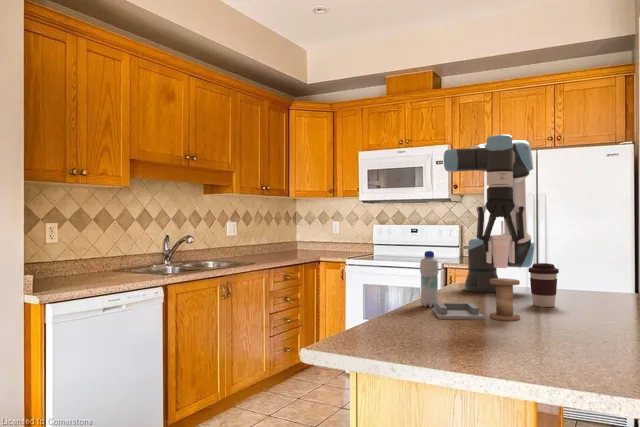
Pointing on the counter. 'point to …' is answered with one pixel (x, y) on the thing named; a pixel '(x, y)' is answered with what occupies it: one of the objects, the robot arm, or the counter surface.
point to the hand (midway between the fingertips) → (500, 262)
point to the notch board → (457, 311)
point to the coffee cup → (543, 284)
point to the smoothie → (500, 248)
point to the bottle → (429, 280)
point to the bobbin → (504, 299)
